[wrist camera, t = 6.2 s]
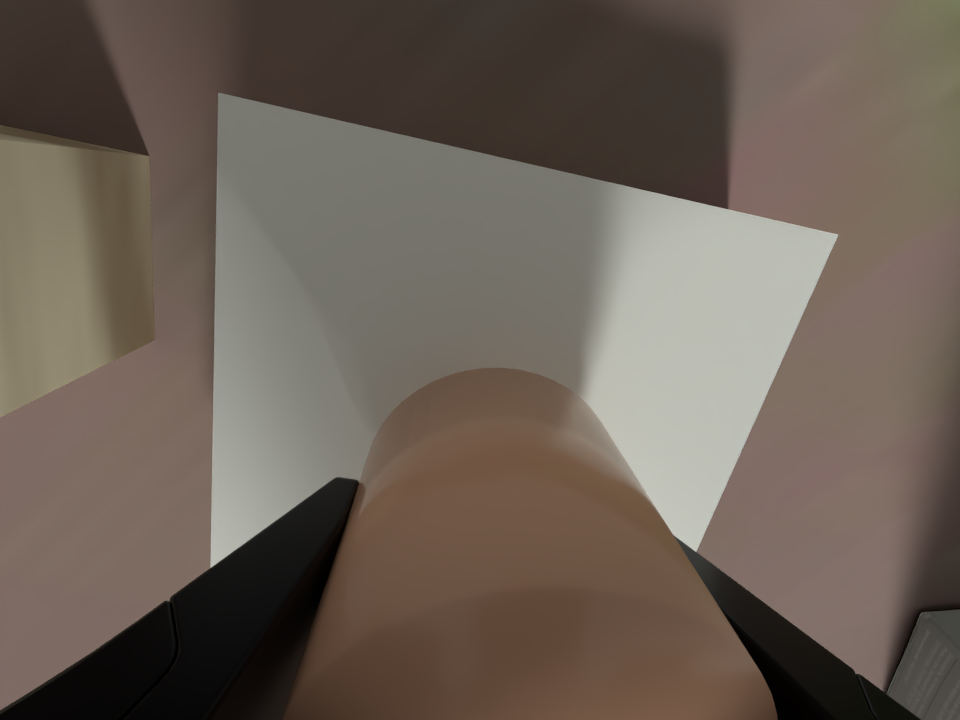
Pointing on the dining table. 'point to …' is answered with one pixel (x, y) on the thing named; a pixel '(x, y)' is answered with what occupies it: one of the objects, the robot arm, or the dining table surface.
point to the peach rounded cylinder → (514, 576)
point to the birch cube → (70, 261)
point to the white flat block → (476, 307)
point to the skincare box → (931, 668)
